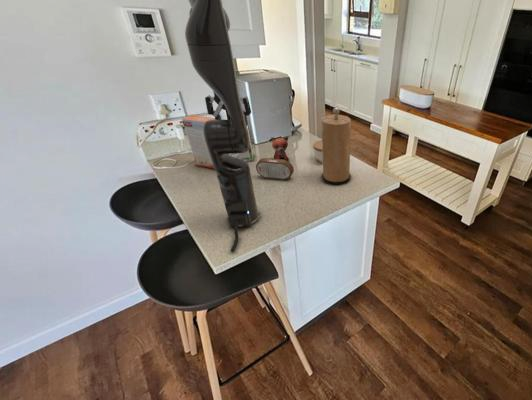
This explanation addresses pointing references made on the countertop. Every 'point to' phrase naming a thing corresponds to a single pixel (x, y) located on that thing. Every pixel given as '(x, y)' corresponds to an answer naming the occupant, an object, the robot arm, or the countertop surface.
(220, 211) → the countertop surface
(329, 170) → the paper towel roll
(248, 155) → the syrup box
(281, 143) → the stuffed fox
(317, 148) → the trinket box
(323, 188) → the countertop surface
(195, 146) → the cracker box
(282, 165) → the tin
